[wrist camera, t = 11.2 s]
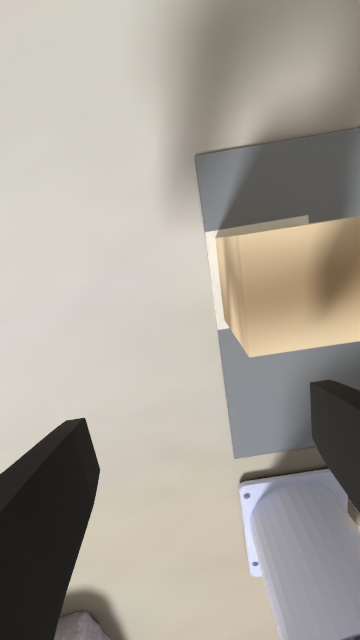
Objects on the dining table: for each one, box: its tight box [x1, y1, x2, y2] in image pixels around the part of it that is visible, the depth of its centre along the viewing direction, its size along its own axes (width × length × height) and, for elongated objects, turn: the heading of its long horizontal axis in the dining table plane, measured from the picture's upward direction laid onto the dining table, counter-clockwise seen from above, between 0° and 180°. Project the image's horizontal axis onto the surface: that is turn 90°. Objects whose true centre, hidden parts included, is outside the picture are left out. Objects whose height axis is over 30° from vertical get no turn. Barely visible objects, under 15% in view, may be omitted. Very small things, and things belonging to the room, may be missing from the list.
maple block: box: [215, 216, 360, 357], centre depth 14 cm, size 5×5×6 cm
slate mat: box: [195, 127, 360, 459], centre depth 18 cm, size 20×17×1 cm
